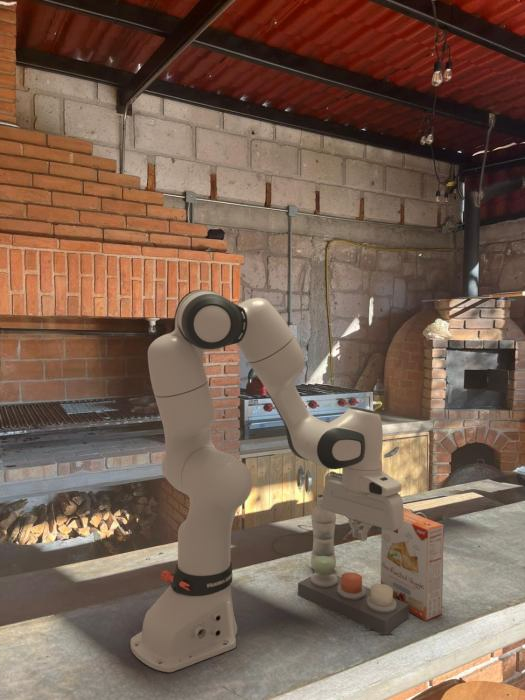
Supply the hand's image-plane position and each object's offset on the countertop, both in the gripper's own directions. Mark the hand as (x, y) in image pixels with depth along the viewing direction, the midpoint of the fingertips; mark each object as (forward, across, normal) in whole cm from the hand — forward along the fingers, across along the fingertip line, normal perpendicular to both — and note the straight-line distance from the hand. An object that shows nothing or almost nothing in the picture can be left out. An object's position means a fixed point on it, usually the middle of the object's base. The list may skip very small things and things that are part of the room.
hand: (359, 538), depth 122 cm
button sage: (+11, -10, 0) cm, 15 cm away
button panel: (+16, -2, +1) cm, 17 cm away
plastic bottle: (+17, -18, +10) cm, 27 cm away
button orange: (+12, -2, +1) cm, 13 cm away
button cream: (+12, +6, +1) cm, 14 cm away
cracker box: (+16, +7, +11) cm, 21 cm away
